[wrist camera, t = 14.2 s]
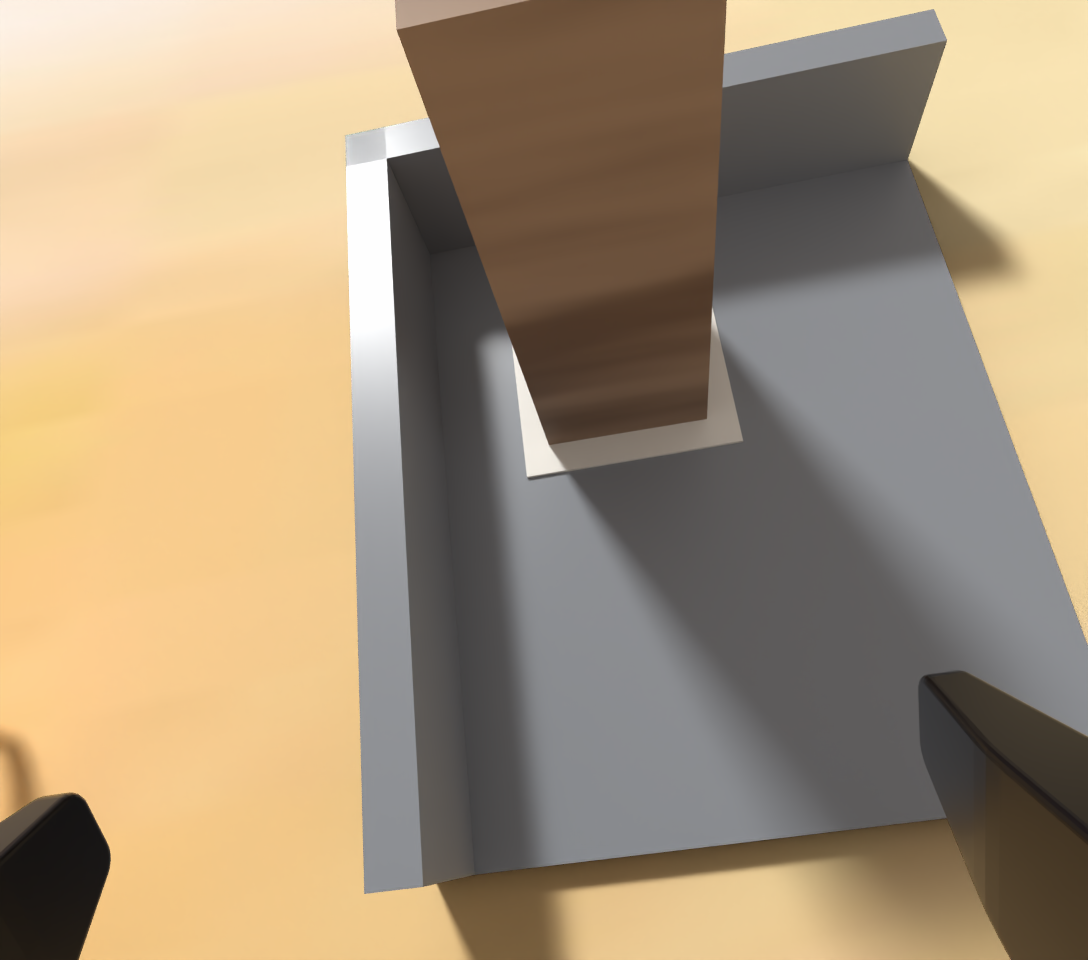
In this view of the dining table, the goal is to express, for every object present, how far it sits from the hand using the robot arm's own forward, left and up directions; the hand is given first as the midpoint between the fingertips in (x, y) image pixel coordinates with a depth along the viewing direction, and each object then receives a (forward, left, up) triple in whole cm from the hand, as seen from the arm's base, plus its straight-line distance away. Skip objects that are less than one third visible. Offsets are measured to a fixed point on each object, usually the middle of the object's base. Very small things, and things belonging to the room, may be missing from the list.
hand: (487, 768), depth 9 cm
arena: (+8, -5, -14) cm, 17 cm away
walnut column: (+12, -4, -13) cm, 18 cm away
